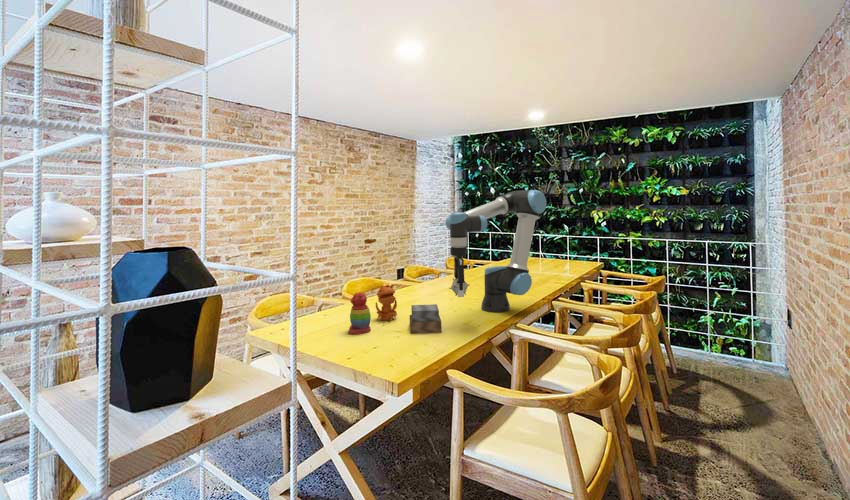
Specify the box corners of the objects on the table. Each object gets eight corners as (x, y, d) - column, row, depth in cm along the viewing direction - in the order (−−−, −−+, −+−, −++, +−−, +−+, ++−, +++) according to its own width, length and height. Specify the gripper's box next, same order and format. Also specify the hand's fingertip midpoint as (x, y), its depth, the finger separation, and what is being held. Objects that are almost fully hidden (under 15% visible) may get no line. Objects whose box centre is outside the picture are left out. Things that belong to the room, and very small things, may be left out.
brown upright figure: (381, 323, 211) (380, 287, 209) (372, 318, 221) (371, 283, 219) (401, 320, 216) (401, 284, 214) (393, 315, 226) (392, 281, 224)
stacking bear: (349, 327, 205) (348, 290, 203) (371, 327, 206) (370, 290, 204) (347, 334, 194) (346, 295, 192) (370, 334, 195) (369, 295, 193)
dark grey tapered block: (438, 324, 208) (438, 303, 207) (441, 332, 196) (441, 310, 194) (409, 325, 208) (409, 304, 206) (410, 333, 195) (409, 311, 194)
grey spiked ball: (463, 303, 201) (468, 289, 194) (445, 296, 202) (450, 282, 195) (468, 290, 207) (473, 276, 201) (451, 284, 208) (455, 269, 202)
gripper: (447, 244, 210) (448, 289, 212) (453, 249, 188) (454, 300, 191) (463, 243, 210) (464, 289, 213) (470, 249, 188) (471, 299, 191)
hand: (459, 294), depth 202 cm, fingers closed on grey spiked ball, 9 cm apart
